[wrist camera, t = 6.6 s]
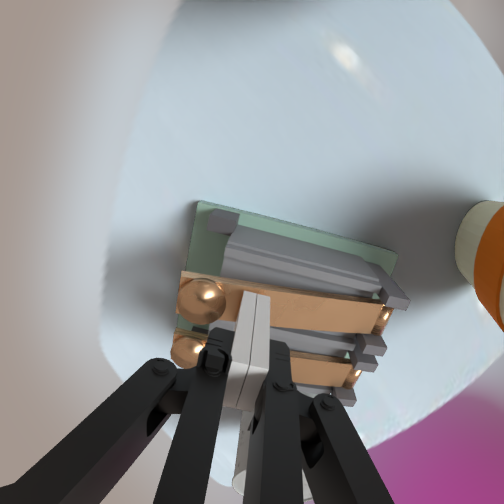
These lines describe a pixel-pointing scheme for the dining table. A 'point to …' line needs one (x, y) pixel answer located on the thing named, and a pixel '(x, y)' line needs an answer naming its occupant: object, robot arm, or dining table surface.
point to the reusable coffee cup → (484, 255)
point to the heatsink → (296, 278)
